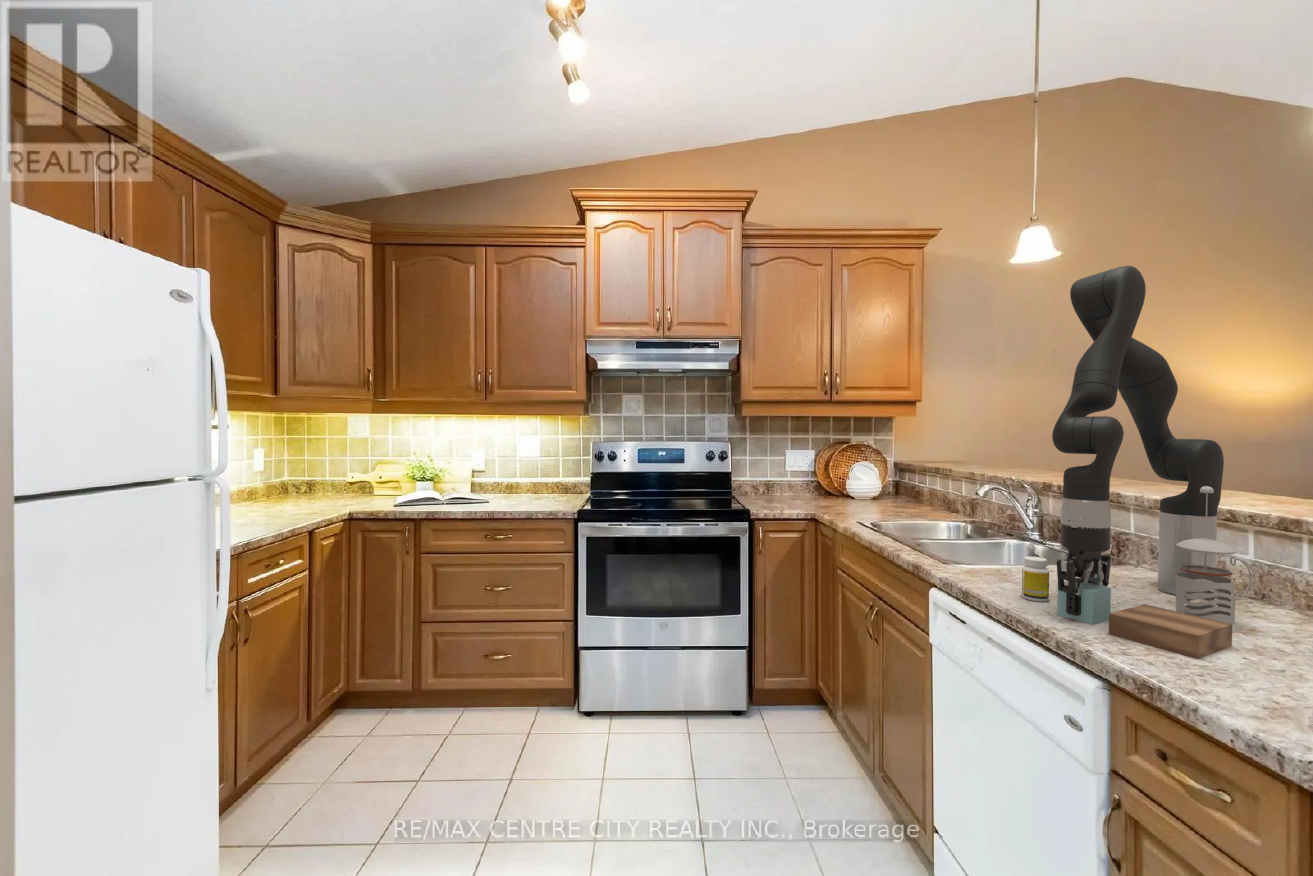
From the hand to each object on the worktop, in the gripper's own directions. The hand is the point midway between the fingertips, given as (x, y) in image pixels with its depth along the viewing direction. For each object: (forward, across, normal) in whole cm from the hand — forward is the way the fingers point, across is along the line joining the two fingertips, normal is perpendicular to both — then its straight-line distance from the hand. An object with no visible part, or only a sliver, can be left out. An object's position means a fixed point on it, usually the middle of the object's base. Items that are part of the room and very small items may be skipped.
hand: (1083, 611), depth 110 cm
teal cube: (+1, 0, 0) cm, 1 cm away
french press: (+1, -18, +12) cm, 22 cm away
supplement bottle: (+1, -4, -11) cm, 12 cm away
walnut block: (+1, 0, +13) cm, 13 cm away
